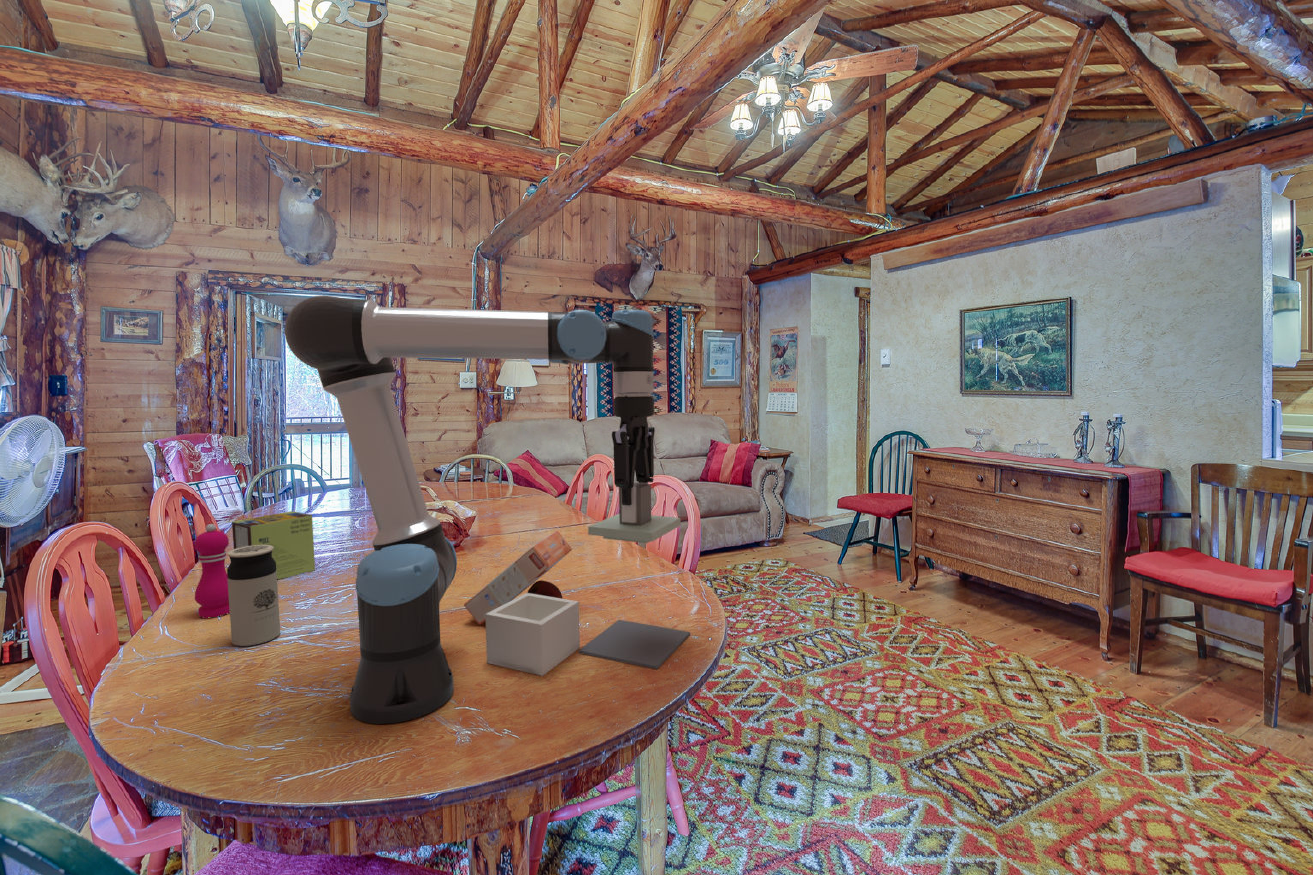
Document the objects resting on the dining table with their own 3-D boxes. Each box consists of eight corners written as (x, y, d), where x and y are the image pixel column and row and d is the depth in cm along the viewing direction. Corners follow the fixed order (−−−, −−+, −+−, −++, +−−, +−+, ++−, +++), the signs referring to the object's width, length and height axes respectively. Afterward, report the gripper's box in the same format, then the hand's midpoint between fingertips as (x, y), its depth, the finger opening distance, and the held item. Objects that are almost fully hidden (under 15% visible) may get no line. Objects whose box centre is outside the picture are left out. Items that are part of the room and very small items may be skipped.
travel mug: (226, 639, 117) (220, 550, 115) (272, 627, 123) (267, 542, 121) (239, 651, 112) (233, 557, 110) (286, 637, 118) (281, 548, 116)
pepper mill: (240, 612, 131) (234, 523, 129) (199, 622, 126) (193, 529, 124) (232, 604, 136) (226, 518, 134) (192, 613, 131) (186, 524, 129)
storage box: (542, 675, 101) (541, 624, 100) (486, 662, 106) (485, 614, 105) (579, 647, 112) (578, 601, 111) (527, 637, 117) (526, 592, 116)
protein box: (316, 570, 161) (313, 514, 160) (253, 586, 148) (249, 525, 147) (296, 564, 167) (293, 510, 166) (234, 579, 154) (230, 521, 153)
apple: (523, 613, 130) (523, 577, 129) (559, 608, 132) (558, 573, 131) (528, 626, 123) (527, 588, 122) (565, 620, 125) (565, 584, 124)
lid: (652, 547, 104) (651, 493, 103) (588, 539, 109) (587, 488, 108) (680, 530, 115) (680, 482, 115) (621, 524, 121) (620, 478, 120)
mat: (657, 669, 103) (657, 666, 103) (578, 652, 110) (578, 650, 110) (690, 634, 118) (690, 631, 118) (619, 621, 124) (619, 619, 124)
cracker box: (479, 627, 123) (550, 567, 118) (461, 605, 123) (531, 544, 119) (509, 603, 136) (574, 548, 132) (493, 583, 137) (557, 528, 132)
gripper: (630, 396, 100) (632, 531, 102) (670, 394, 116) (671, 511, 118) (592, 396, 103) (594, 527, 105) (636, 394, 119) (638, 508, 121)
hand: (635, 518), depth 112 cm, fingers closed on lid, 4 cm apart
